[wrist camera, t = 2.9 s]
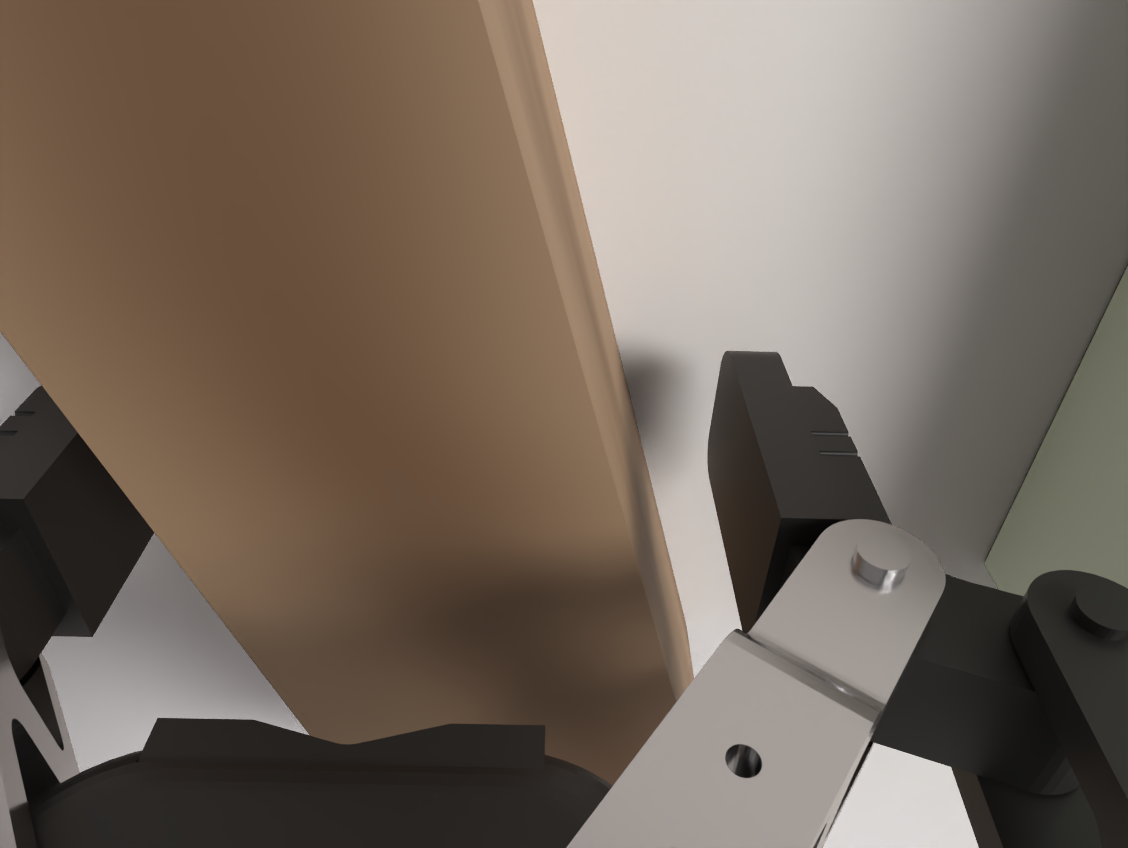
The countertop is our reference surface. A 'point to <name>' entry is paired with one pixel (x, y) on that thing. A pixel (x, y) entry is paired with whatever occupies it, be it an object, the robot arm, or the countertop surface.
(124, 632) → the countertop surface
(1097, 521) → the pale green tray
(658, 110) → the countertop surface
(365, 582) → the walnut plank
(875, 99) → the countertop surface
